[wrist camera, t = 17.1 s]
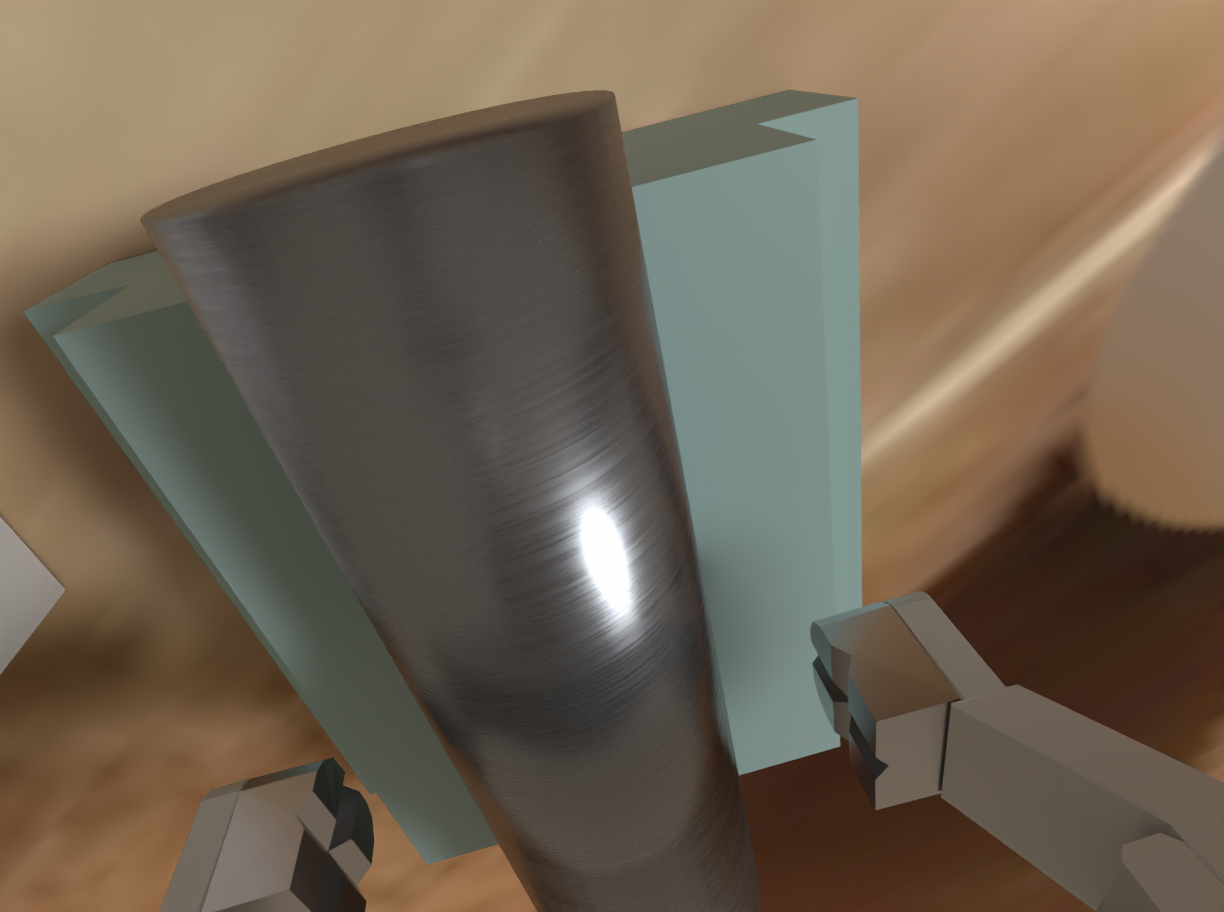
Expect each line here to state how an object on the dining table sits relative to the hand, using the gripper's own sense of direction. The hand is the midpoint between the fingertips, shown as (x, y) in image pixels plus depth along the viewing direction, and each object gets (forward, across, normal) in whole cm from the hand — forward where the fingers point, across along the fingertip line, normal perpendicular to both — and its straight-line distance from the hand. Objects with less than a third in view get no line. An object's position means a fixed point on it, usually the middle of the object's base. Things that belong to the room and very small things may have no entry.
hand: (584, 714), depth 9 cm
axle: (+3, 0, 0) cm, 3 cm away
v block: (+7, 0, 0) cm, 7 cm away
